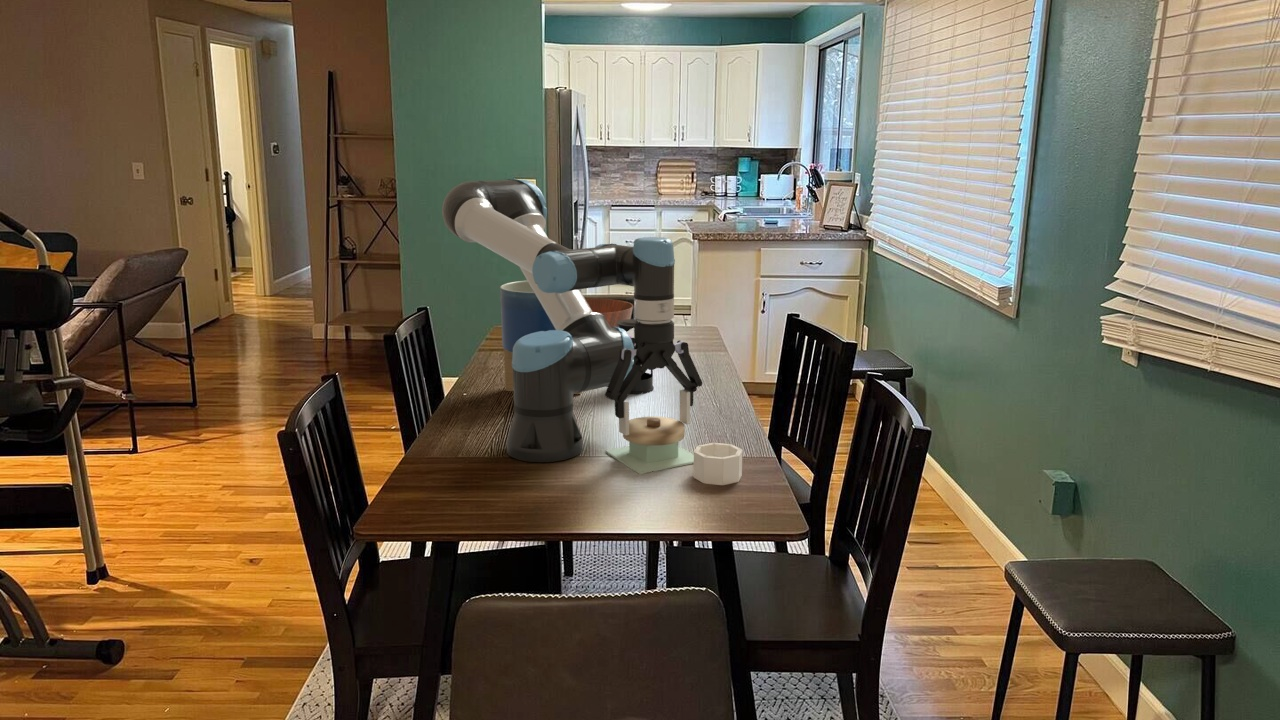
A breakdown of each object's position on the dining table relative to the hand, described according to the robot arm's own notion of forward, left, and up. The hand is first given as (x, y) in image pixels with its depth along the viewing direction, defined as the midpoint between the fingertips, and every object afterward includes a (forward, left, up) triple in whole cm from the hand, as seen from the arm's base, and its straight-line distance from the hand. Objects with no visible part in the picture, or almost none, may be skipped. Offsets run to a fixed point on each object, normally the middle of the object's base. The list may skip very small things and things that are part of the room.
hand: (655, 428), depth 179 cm
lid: (0, 0, -2) cm, 2 cm away
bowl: (+35, +98, -6) cm, 105 cm away
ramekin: (+5, -15, -6) cm, 17 cm away
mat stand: (0, 0, -6) cm, 6 cm away
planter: (0, +54, -6) cm, 55 cm away
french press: (+21, +46, -6) cm, 51 cm away
